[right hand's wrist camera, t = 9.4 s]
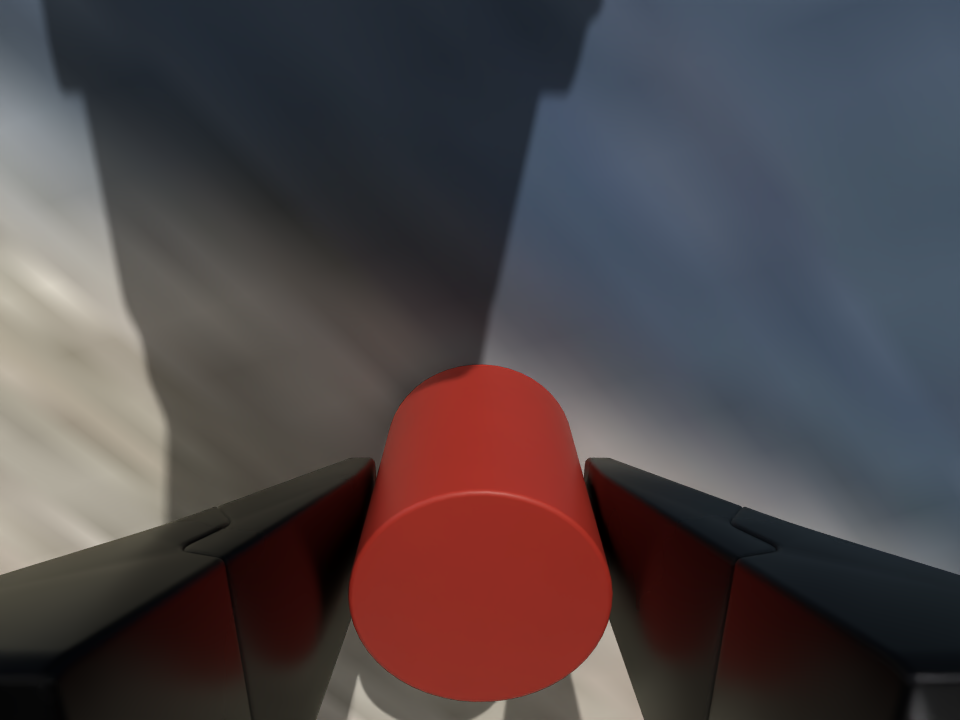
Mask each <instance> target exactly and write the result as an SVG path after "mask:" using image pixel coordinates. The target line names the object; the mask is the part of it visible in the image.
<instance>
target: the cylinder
mask: <svg viewBox="0 0 960 720" xmlns="http://www.w3.org/2000/svg"><path fill="white" fill-rule="evenodd" d="M612 597H613V590H612V579H611V575H610V572H609V568H608V564H607V560H606V557H605V553H604V550H603V546H602V542H601V539H600V535H599V531H598V528H597V524H596V521H595V517H594V513H593V510H592V506H591V503H590V499H589V495H588V492H587V488H586V485H585V481H584V477H583V474H582V470H581V466H580V463H579V459H578V456H577V452H576V448H575V445H574V441H573V438H572V434H571V430H570V427H569V423H568V421H567V418H566V416H565V414H564V411H563V410H562V408H561V407H560V405H559V403H558V402H557V401H556V399H555V398H554V397H553V396H552V395H551V393H549V392H548V391H547V390H546V389H545V388H544V387H543V386H542V385H540V384H539V383H537V382H536V381H535V380H533V379H532V378H530V377H528V376H526V375H524V374H522V373H520V372H517V371H514V370H511V369H508V368H504V367H500V366H493V365H467V366H460V367H456V368H452V369H448V370H446V371H443V372H441V373H438V374H436V375H434V376H432V377H430V378H429V379H427V380H425V381H424V382H422V383H421V384H420V385H418V386H417V387H416V388H415V389H414V390H413V391H412V392H411V393H410V394H409V395H408V396H407V397H406V398H405V399H404V401H403V402H402V403H401V405H400V406H399V408H398V410H397V412H396V413H395V415H394V418H393V420H392V423H391V426H390V430H389V433H388V437H387V441H386V444H385V448H384V452H383V456H382V459H381V463H380V467H379V470H378V474H377V478H376V481H375V485H374V489H373V493H372V496H371V500H370V504H369V507H368V511H367V515H366V519H365V522H364V526H363V530H362V533H361V537H360V541H359V544H358V548H357V552H356V556H355V559H354V563H353V567H352V571H351V575H350V580H349V589H348V600H349V610H350V614H351V617H352V621H353V624H354V627H355V629H356V632H357V634H358V636H359V638H360V640H361V642H362V643H363V645H364V646H365V648H366V649H367V651H368V652H369V653H370V654H371V656H372V657H373V658H374V659H375V660H376V661H377V662H378V663H379V664H380V665H381V666H382V667H383V668H384V669H385V670H387V671H388V672H389V673H390V674H392V675H393V676H395V677H396V678H398V679H399V680H401V681H402V682H404V683H406V684H408V685H410V686H412V687H414V688H416V689H418V690H421V691H423V692H426V693H429V694H432V695H435V696H439V697H442V698H447V699H453V700H458V701H469V702H492V701H501V700H508V699H513V698H518V697H522V696H525V695H528V694H531V693H535V692H537V691H540V690H542V689H544V688H546V687H549V686H551V685H553V684H554V683H556V682H558V681H560V680H561V679H563V678H565V677H566V676H567V675H569V674H570V673H571V672H573V671H574V670H575V669H576V668H577V667H579V666H580V665H581V664H582V663H583V662H584V661H585V660H586V659H587V658H588V656H589V655H590V654H591V653H592V651H593V650H594V649H595V647H596V646H597V644H598V642H599V641H600V639H601V637H602V636H603V633H604V631H605V628H606V626H607V623H608V621H609V616H610V612H611V608H612Z"/></svg>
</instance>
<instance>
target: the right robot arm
mask: <svg viewBox="0 0 960 720" xmlns="http://www.w3.org/2000/svg"><path fill="white" fill-rule="evenodd" d="M375 481H376V469H375V462H374V460H373V459H372V458H349V459H347V460H344V461H341V462H338V463H336V464H333V465H330V466H328V467H325V468H322V469H319V470H317V471H314V472H311V473H308V474H306V475H303V476H300V477H297V478H295V479H292V480H289V481H287V482H284V483H281V484H278V485H276V486H273V487H270V488H267V489H265V490H262V491H259V492H257V493H254V494H251V495H248V496H246V497H243V498H240V499H237V500H235V501H232V502H229V503H227V504H224V505H221V506H219V507H218V508H217V507H213V508H210V509H208V510H205V511H202V512H199V513H197V514H194V515H191V516H188V517H185V518H182V519H179V520H176V521H174V522H171V523H167V524H164V525H161V526H158V527H155V528H152V529H149V530H146V531H143V532H139V533H136V534H133V535H130V536H127V537H123V538H120V539H117V540H113V541H110V542H107V543H104V544H100V545H97V546H94V547H91V548H87V549H84V550H81V551H78V552H74V553H71V554H68V555H65V556H61V557H58V558H55V559H51V560H48V561H45V562H42V563H38V564H35V565H32V566H29V567H25V568H22V569H19V570H16V571H12V572H9V573H6V574H3V575H0V720H316V718H317V715H318V712H319V709H320V706H321V703H322V701H323V698H324V695H325V692H326V689H327V686H328V683H329V680H330V678H331V675H332V672H333V669H334V666H335V663H336V660H337V658H338V655H339V652H340V649H341V646H342V643H343V640H344V637H345V635H346V632H347V629H348V626H349V623H350V620H351V614H350V610H349V600H348V589H349V580H350V575H351V571H352V567H353V563H354V559H355V556H356V552H357V548H358V544H359V541H360V537H361V533H362V530H363V526H364V522H365V519H366V515H367V511H368V507H369V504H370V500H371V496H372V493H373V489H374V485H375ZM584 481H585V485H586V488H587V492H588V495H589V499H590V503H591V506H592V510H593V513H594V517H595V521H596V524H597V528H598V531H599V535H600V539H601V542H602V546H603V550H604V553H605V557H606V560H607V564H608V568H609V572H610V575H611V579H612V590H613V597H612V608H611V612H610V616H609V620H610V623H611V626H612V629H613V632H614V634H615V637H616V640H617V643H618V646H619V649H620V652H621V655H622V657H623V660H624V663H625V666H626V669H627V672H628V675H629V678H630V680H631V683H632V686H633V689H634V692H635V695H636V698H637V700H638V703H639V706H640V709H641V712H642V715H643V718H644V720H960V575H958V574H954V573H951V572H948V571H944V570H941V569H938V568H935V567H931V566H928V565H925V564H922V563H918V562H915V561H912V560H909V559H905V558H902V557H899V556H896V555H892V554H889V553H886V552H882V551H879V550H876V549H873V548H869V547H866V546H863V545H860V544H856V543H853V542H850V541H847V540H843V539H840V538H837V537H834V536H830V535H827V534H824V533H821V532H817V531H814V530H811V529H808V528H805V527H802V526H799V525H796V524H793V523H789V522H787V521H784V520H781V519H778V518H775V517H772V516H769V515H766V514H763V513H761V512H758V511H755V510H752V509H750V508H747V507H743V508H742V507H741V506H739V505H736V504H734V503H731V502H728V501H725V500H723V499H720V498H717V497H714V496H712V495H709V494H706V493H703V492H701V491H698V490H695V489H693V488H690V487H687V486H684V485H682V484H679V483H676V482H673V481H671V480H668V479H665V478H663V477H660V476H657V475H654V474H652V473H649V472H646V471H643V470H641V469H638V468H635V467H633V466H630V465H627V464H624V463H622V462H619V461H616V460H613V459H611V458H588V459H587V460H586V462H585V469H584Z"/></svg>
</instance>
